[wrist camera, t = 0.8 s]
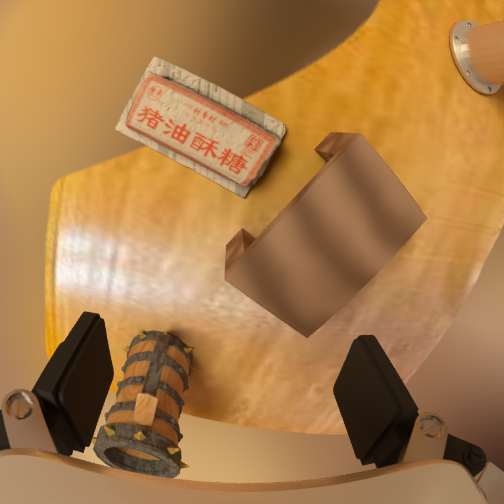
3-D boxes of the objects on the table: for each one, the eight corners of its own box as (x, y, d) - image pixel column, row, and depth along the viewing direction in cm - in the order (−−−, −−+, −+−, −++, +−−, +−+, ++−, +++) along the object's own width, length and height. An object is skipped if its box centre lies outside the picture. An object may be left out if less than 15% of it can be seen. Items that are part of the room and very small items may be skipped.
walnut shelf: (330, 132, 32) (360, 133, 24) (390, 198, 36) (427, 218, 28) (226, 245, 37) (224, 279, 29) (293, 297, 41) (307, 338, 33)
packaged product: (296, 126, 28) (245, 206, 31) (288, 127, 33) (244, 196, 36) (146, 48, 24) (101, 130, 27) (157, 58, 28) (117, 129, 31)
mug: (120, 369, 45) (88, 464, 27) (130, 290, 39) (75, 397, 21) (190, 389, 47) (180, 489, 29) (217, 316, 41) (211, 437, 23)
